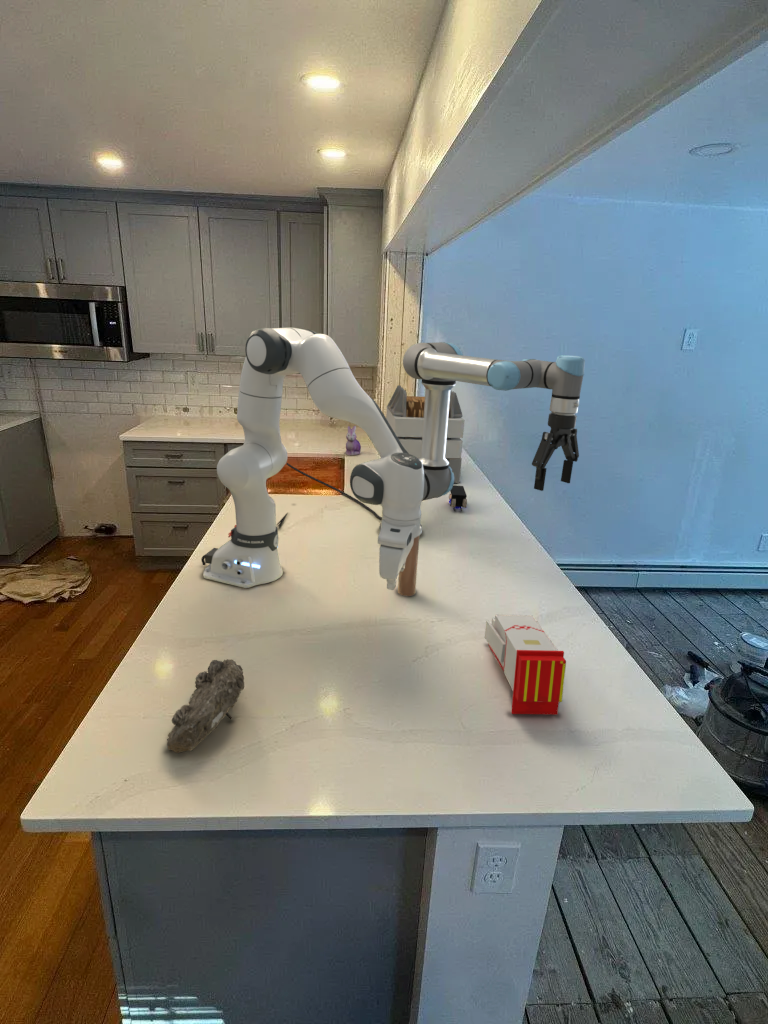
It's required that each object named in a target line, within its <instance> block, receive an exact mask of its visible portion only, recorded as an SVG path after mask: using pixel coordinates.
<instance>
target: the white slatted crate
mask: <svg viewBox="0 0 768 1024" xmlns="http://www.w3.org/2000/svg"><path fill="white" fill-rule="evenodd" d="M407 394H408V393H407V390H406V389H404V388H403V387H402V385H399V384H398V385H397V386H396V388H395V390H394V392H393V394H392V395H391V398H390V400H389V402H388V404H387V405H386V413H385V414H386V415H385V417H386V419H387V421H388V422H389V424H390V426H391V427H392V429H393V431H394V432H395V434H396V436H397V437H398V439H399V441H400V442H401V444H402V446H403V447H404V448H405V450H406V451H407V452H408V453H409V454H411V455H413V456H415V457H417V458H420V457H421V449H422V434H423V419H424V404H425V396H415V395H414V396H413V395H412V396H411V395H407ZM464 429H465V419H464V418H463V411H462V408H461V405H460V402H459V398H458V395H457V392H455V391H453V390H451V392H450V404H449V416H448V428H447V441H446V453H445V458H446V459H447V461H448V462H449V466H450V467H451V469H452V473H454V484H455V483H456V484H459V483H461V472H462V461H463V460H462V453H463V442H464V441H463V440H462V439H463V438H464V431H465V430H464Z"/></svg>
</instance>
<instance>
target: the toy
mask: <svg viewBox="0 0 768 1024" xmlns="http://www.w3.org/2000/svg"><path fill="white" fill-rule="evenodd" d="M494 615H495V616H494V617H491V622H490V620H485V621H486V622H485V630H484V640H485V641H486V642H487V646H488V647H489V649H490V651H491V652H492V654H493V656H494V657H495V659H496V661H497V663H498V665H499V667H500V668H501V670H502V671H503V674H504V676H505V678H506V680H507V682H508V684H509V686H510V689H511V690H512V701H511V712H510V713H511V714H512V715H556V716H558V715H559V714H558V713H559V705H560V703H562V702H563V695H564V694H563V693H564V686H565V685H564V683H565V677H566V676H565V675H566V667H567V666H566V665H567V660H566V658H564V656H565V651H564V650H559V649H558V648H557V646H556V645H555V644H554V642H553V641H552V640H551V638H550V637H549V636H548V634H547V633H546V631H544V629H543V628H542V626H541V625H540V623H539V622H538V620H536V618H535V617H534V615H531V614H530V615H527V614H526V615H523V614H519V615H518V614H494Z"/></svg>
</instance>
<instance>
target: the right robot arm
mask: <svg viewBox="0 0 768 1024" xmlns="http://www.w3.org/2000/svg"><path fill="white" fill-rule="evenodd" d="M585 365H586V360H585V358H584V357H582V356H578V355H566V354H565V355H564V354H563V355H558V356H557V357H556V360H555V361H549V360H541V359H536V358H524V359H521V360H506V359H505V360H504V359H503V360H502V359H496V358H487V357H479V356H471V355H464V354H463V352H462V350H461V349H460V347H459V346H457V345H456V344H455V343H451V342H445V341H443V342H442V341H441V342H440V341H439V342H438V341H437V342H417V343H414V344H412V345H411V346H409V347H408V348H407V350H406V351H405V353H404V355H403V358H402V366H403V369H404V372H405V373H406V374H407V375H408V376H409V377H411V378H412V379H415V380H421V385H422V386H423V387H424V389H425V392H424V397H425V404H424V419H423V434H422V449H421V457H420V458H418V459H419V460H420V461H421V462H422V464H423V468H424V493H423V499H422V501H421V502H423V501H427V500H431V499H437V498H440V497H443V496H446V495H448V493H450V490H451V489H452V487H453V485H454V484H455V483H454V473H452V469H451V467H450V466H449V462H448V461H447V459H446V458H445V453H446V441H447V428H448V416H449V404H450V392H451V391H452V389H453V388H454V387H455V386H456V384H457V382H461V383H465V384H473V385H479V386H487V387H491V388H492V389H494V390H496V391H503V392H504V391H511V390H520V389H532V388H533V389H534V388H539V389H546V390H551V398H550V404H549V413H548V418H547V419H548V420H547V426H548V427H549V428H550V431H549V432H548V431H543V432H542V435H541V440H540V442H539V445H538V447H537V449H536V452H535V454H534V457H533V460H532V461H531V466H533V467H535V475H534V477H535V478H534V485H533V489H534V490H537V491H539V492H543V491H544V489H545V484H546V483H545V482H546V476H547V468H546V466H547V465H548V463H549V461H550V459H551V457H552V456H553V454H554V453H555V451H556V450H557V449H558V448H560V447H561V449H562V452H563V455H564V458H565V459H563V463H562V468H561V469H562V470H561V475H560V482H562V483H566V484H571V478H572V472H573V466H574V463H576V462H578V461H579V457H580V453H579V444H578V428H576V423H577V419H578V416H577V414H578V412H579V411H578V410H579V406H580V397H581V391H582V385H583V380H584V376H585ZM286 465H287V466H288V467H289V468H290V469H293V470H294V471H296V472H298V473H299V474H301V475H302V476H305V477H307V478H309V479H311V480H313V481H315V482H316V483H317V482H318V483H319V484H322V485H323V486H326V487H328V488H329V489H332V490H334V491H336V492H337V493H340V494H342V495H343V496H345V497H347V498H348V499H351V501H354V502H355V503H357V504H358V505H360V506H361V507H363V508H365V509H366V510H367V511H369V512H370V513H371V514H372V515H373V516H375V517H376V518H377V519H378V520H380V521H382V516H380V515H379V514H378V513H376V511H374V510H373V509H372V508H370V507H369V506H368V505H366V504H365V503H363V502H361V501H360V500H358V499H357V498H356V497H354V496H352V495H350V494H348V493H346V492H345V491H342V490H340V489H338V488H337V487H335V486H333V485H331V484H328V483H327V482H324V481H322V480H320V479H318V478H315V477H314V476H312V475H310V474H307V473H306V472H303V471H302V470H300V469H298V468H297V467H295V466H293V465H291V464H290V463H288V462H286ZM420 526H421V534H420V535H419V538H420V537H421V536H422V535H423V525H422V524H421V523H420ZM380 529H381V522H379V526H378V533H379V532H380Z"/></svg>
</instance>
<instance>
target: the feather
mask: <svg viewBox="0 0 768 1024" xmlns="http://www.w3.org/2000/svg"><path fill="white" fill-rule="evenodd" d="M287 515H288V513H286V514H285V515H284V516H283V517H282V518H281V519H280V521H278V522H277V523H276V526H279V527H278V529H280V528H281V527H282V524H283V522H284V521H285V519H286V518H287Z"/></svg>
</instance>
